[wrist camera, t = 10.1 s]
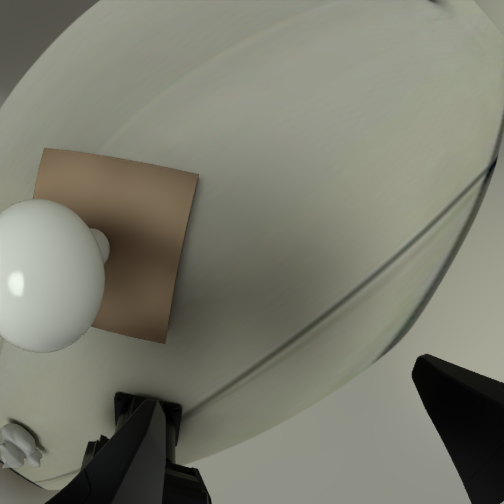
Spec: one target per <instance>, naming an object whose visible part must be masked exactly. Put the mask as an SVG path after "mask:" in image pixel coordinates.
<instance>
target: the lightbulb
mask: <svg viewBox="0 0 504 504" xmlns="http://www.w3.org/2000/svg"><path fill="white" fill-rule="evenodd" d="M109 254H110V245H109V242H108V239H107V238H106V236H105V235H104V234H103V233H102V232H101V231H99V230H97V229H94V228H89V227H88V226H87V224H86V223H85V222H84V221H83V220H82V219H81V218H80V217H79V216H78V215H77V214H76V213H75V212H73V211H72V210H71V209H69V208H68V207H66V206H64V205H62V204H60V203H57V202H54V201H51V200H46V199H28V200H23V201H20V202H17V203H15V204H13V205H11V206H9V207H7V208H6V209H4V210H3V211H1V212H0V336H1V337H2V338H3V339H4V340H6V341H7V342H8V343H10V344H12V345H13V346H15V347H17V348H20V349H22V350H25V351H29V352H35V353H49V352H54V351H58V350H61V349H64V348H66V347H68V346H70V345H71V344H73V343H74V342H76V341H77V340H78V339H80V338H81V337H82V336H83V335H84V334H85V333H86V331H87V330H88V329H89V328H90V326H91V325H92V323H93V322H94V320H95V318H96V316H97V314H98V312H99V309H100V306H101V303H102V299H103V295H104V287H105V270H104V264H105V263H106V262H107V260H108V258H109Z"/></svg>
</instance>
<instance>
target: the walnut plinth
mask: <svg viewBox="0 0 504 504" xmlns="http://www.w3.org/2000/svg"><path fill="white" fill-rule="evenodd" d="M198 177H199V174H194V173H190V172H186V171H181V170H176V169H172V168H167V167H162V166H157V165H152V164H147V163H142V162H136V161H131V160H125V159H119V158H114V157H108V156H101V155H95V154H88V153H81V152H74V151H67V150H59V149H50V148H44V151H43V154H42V158H41V162H40V166H39V171H38V175H37V180H36V185H35V190H34V196H33V199H46V200H51V201H54V202H57V203H60V204H62V205H64V206H66V207H68V208H69V209H71V210H72V211H73V212H75V213H76V214H77V215H78V216H79V217H80V218H81V219H82V220H83V221H84V222H85V223H86V224H87V226H88V227H89V228H94V229H97V230H99V231H101V232H102V233H103V234H104V235H105V236H106V238H107V239H108V242H109V245H110V254H109V258H108V260H107V262H106V263H105V264H104V270H105V287H104V295H103V299H102V303H101V306H100V309H99V312H98V314H97V316H96V318H95V320H94V322H93V323H92V325H91V326H92V327H95V328H99V329H103V330H106V331H110V332H114V333H118V334H122V335H126V336H130V337H135V338H139V339H144V340H148V341H153V342H158V343H163V344H165V342H166V336H167V330H168V323H169V317H170V311H171V305H172V299H173V293H174V287H175V282H176V276H177V271H178V266H179V261H180V256H181V251H182V246H183V241H184V237H185V232H186V228H187V223H188V219H189V214H190V210H191V206H192V202H193V198H194V193H195V189H196V185H197V181H198Z"/></svg>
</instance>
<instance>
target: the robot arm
mask: <svg viewBox="0 0 504 504" xmlns="http://www.w3.org/2000/svg"><path fill="white" fill-rule="evenodd" d="M412 379H413V382H414V384H415V386H416V388H417V391H418V393H419V395H420V398H421V400H422V402H423V405H424V407H425V409H426V410H427V413H428V415H429V417H430V418H431V420H432V422H433V424H434V426H435V427H436V429H437V431H438V433H439V435H440V437H441V439H442V441H443V443H444V445H445V447H446V449H447V451H448V453H449V455H450V457H451V459H452V461H453V463H454V465H455V467H456V469H457V471H458V473H459V476H460V478H461V480H462V482H463V483H464V484H463V485H464V487H465V489H466V491H467V494H468V496H469V499H470V501H471V503H472V504H500V503H502V502H503V501H504V383H502V382H499V381H497V380H494V379H491V378H489V377H486V376H483V375H480V374H478V373H475V372H473V371H470V370H468V369H465V368H462V367H460V366H457V365H454V364H452V363H449V362H447V361H444V360H442V359H439V358H437V357H434V356H432V355H429V354H424V355H421V356H419V357H418V358H417V360H416V362H415V365H414V368H413V371H412ZM119 397H121V398H119ZM114 403H115V422H116V430H115V434H114V435H113V436H112V437H111V439H107V437H105V436H103V435H101V436H100V439H99V441H98V440H97V441H95V442H88V445H87V448H86V451H85V455H84V458H83V462H82V466H81V471H80V472H79V474H78V475H77V476H76V477H75V478H74V479H73V480H72V481H71V482H70V483H69V484H68V485H67V486H65V487H64V488H63V489H62V490H61V491H60V492H59V493H57V494H56V495H55V496H54V497H53V498H51V499H50V500H49V501H47V502H46V503H45V504H212V503H211V498H210V495H209V493H208V491H207V489H206V486H205V484H204V482H203V480H202V477H201V475H200V473H199V470H198V469H196V468H189V467H185V466H181V465H178V464H175V447H176V446H177V441H178V434H179V428H180V421H181V415H182V406H181V405H179V404H174V403H168V402H162V401H158V400H151V399H146V398H142V397H137V396H132V395H128V394H124V393H119V392H118V393H116V394H115V397H114ZM175 408H177V409H175Z"/></svg>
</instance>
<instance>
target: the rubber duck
mask: <svg viewBox="0 0 504 504" xmlns="http://www.w3.org/2000/svg"><path fill="white" fill-rule="evenodd" d="M2 435H3V439H4V442H5V443H3V444H0V449H1V451H2V454H1V456H2V460H3V462H4V465H3V468H6V467H13V468H17V467H21V466H22V465H24V458H25V459H27V461H28V462H29V463H30V464H31V465H33V466H35V467H40V459H41V458H42V454H41V452H40V451H39V450H37V449H36V445H35V440H34V438H33V437H32V435H31V434H30V433H29V432H28V431H27V430H25V429H24V428H23V427H22V426H20V425H17V424H6V425H4V426H3V428H2Z"/></svg>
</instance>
